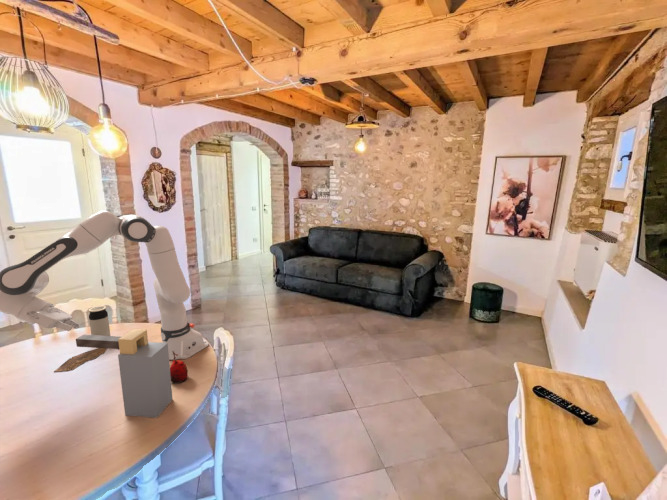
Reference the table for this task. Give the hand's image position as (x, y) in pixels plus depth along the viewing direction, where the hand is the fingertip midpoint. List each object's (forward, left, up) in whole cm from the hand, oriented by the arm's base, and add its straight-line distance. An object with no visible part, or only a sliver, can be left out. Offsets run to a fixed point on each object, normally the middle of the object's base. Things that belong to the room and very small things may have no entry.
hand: (75, 327), depth 124 cm
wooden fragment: (-10, -28, -28) cm, 41 cm away
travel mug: (-22, -41, -27) cm, 54 cm away
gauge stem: (-3, +19, -3) cm, 19 cm away
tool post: (-10, +31, -27) cm, 42 cm away
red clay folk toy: (-26, +24, -27) cm, 44 cm away
